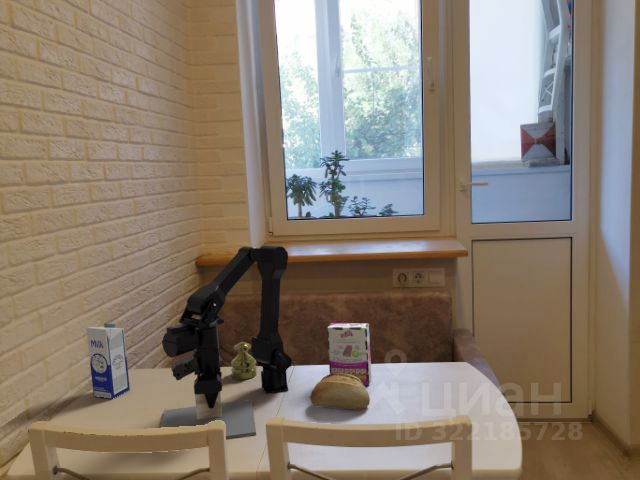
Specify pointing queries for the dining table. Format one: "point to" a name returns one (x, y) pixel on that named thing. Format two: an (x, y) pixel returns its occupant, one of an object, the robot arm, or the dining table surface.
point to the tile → (203, 408)
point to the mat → (216, 418)
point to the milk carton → (108, 360)
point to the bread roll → (340, 392)
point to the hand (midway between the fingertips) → (211, 406)
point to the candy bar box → (350, 350)
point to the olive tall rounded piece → (243, 362)
